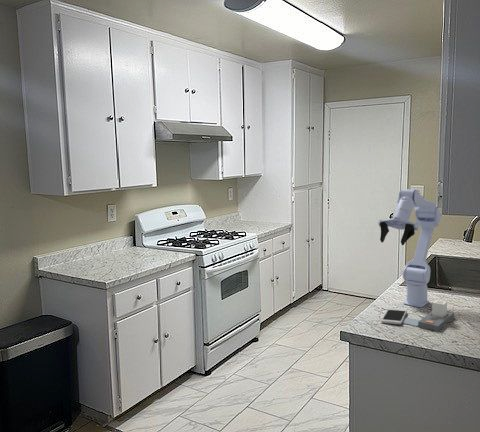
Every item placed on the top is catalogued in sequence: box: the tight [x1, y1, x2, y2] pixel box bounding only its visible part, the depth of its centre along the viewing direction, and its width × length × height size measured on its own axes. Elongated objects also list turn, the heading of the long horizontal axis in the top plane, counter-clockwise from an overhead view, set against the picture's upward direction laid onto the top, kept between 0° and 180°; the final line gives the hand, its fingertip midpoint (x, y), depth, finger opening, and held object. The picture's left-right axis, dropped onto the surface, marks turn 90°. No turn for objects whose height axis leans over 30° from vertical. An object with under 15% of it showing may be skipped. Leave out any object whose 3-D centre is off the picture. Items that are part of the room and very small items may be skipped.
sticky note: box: [401, 317, 421, 327], centre depth 169 cm, size 6×6×1 cm
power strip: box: [418, 310, 455, 332], centre depth 168 cm, size 18×7×2 cm, turn 138°
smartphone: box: [380, 307, 408, 325], centre depth 174 cm, size 7×16×1 cm, turn 151°
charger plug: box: [431, 299, 448, 318], centre depth 170 cm, size 4×4×7 cm
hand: (391, 242), depth 165 cm, fingers open, 7 cm apart
